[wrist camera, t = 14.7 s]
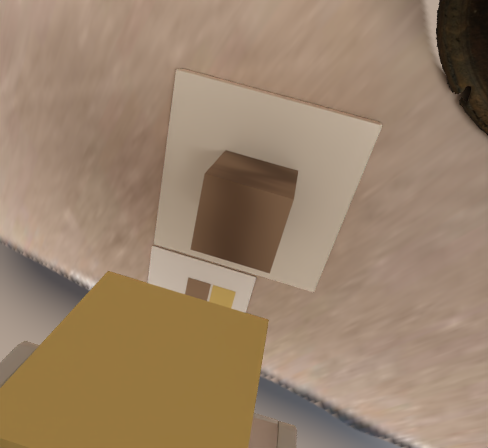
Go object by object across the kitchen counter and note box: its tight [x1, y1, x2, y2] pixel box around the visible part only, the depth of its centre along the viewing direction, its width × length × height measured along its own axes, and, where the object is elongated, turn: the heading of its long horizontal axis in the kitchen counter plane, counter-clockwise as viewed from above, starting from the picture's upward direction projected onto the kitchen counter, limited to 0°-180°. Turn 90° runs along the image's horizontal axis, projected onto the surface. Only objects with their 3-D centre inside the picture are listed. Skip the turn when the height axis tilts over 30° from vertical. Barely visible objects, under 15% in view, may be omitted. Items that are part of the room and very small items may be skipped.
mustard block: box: [0, 271, 269, 448], centre depth 10 cm, size 5×5×5 cm
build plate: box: [154, 68, 382, 293], centre depth 25 cm, size 13×13×1 cm
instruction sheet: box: [147, 245, 256, 313], centre depth 31 cm, size 9×6×1 cm, turn 77°
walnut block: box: [190, 150, 298, 273], centre depth 23 cm, size 5×5×5 cm
